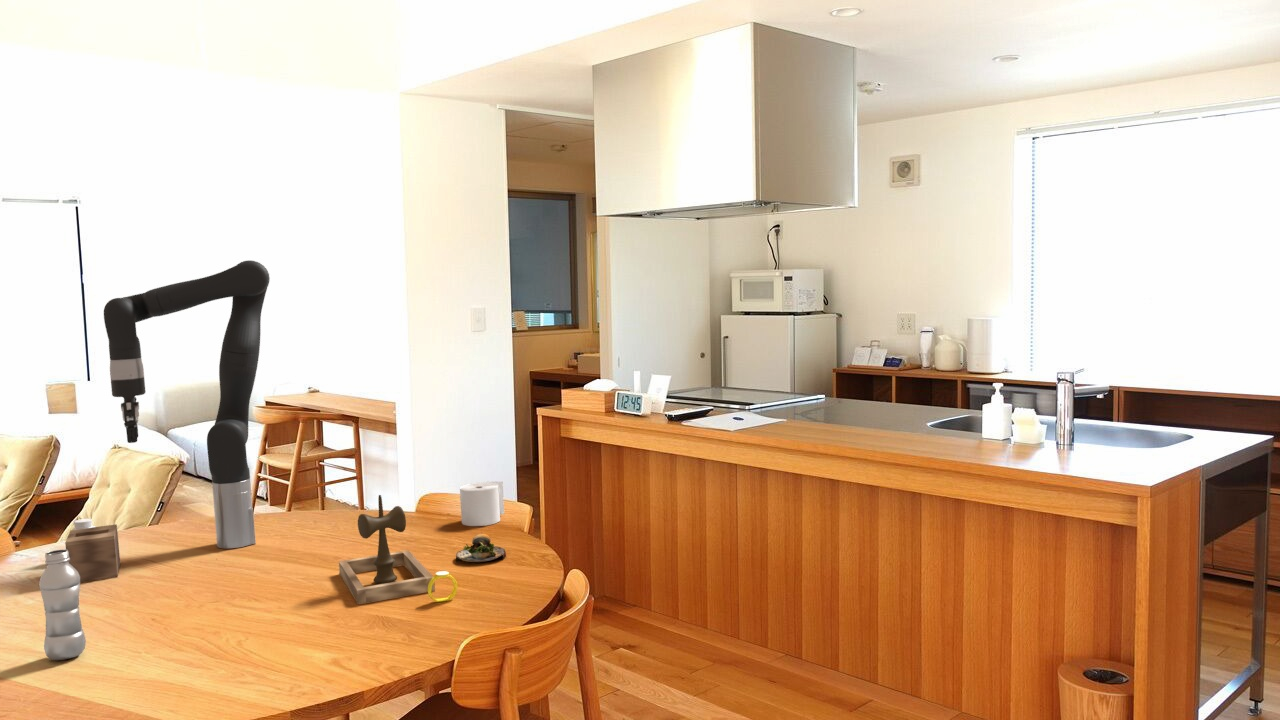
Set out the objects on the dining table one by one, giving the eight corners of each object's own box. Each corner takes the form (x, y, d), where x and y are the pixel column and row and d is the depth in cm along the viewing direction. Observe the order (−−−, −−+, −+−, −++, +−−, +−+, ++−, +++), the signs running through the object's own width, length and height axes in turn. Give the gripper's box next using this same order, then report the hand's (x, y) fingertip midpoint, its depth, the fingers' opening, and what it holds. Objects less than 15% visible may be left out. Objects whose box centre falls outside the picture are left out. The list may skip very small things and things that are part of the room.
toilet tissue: (456, 526, 264) (453, 490, 263) (470, 515, 276) (468, 481, 275) (493, 526, 262) (491, 490, 262) (506, 515, 274) (504, 481, 273)
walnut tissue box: (120, 563, 241) (116, 524, 240) (117, 577, 229) (114, 535, 228) (74, 570, 237) (70, 530, 236) (69, 584, 225) (65, 542, 224)
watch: (431, 605, 200) (429, 577, 199) (427, 602, 202) (425, 574, 201) (459, 599, 203) (457, 571, 202) (454, 596, 205) (452, 568, 204)
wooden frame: (409, 562, 231) (408, 550, 231) (434, 590, 209) (434, 577, 209) (339, 573, 224) (338, 561, 224) (358, 604, 202) (357, 590, 202)
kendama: (411, 580, 217) (405, 492, 216) (370, 590, 211) (364, 500, 210) (399, 574, 222) (394, 489, 220) (359, 584, 216) (353, 496, 214)
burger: (446, 564, 229) (444, 533, 229) (473, 550, 240) (471, 521, 240) (490, 568, 225) (488, 537, 224) (515, 554, 236) (513, 524, 235)
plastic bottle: (56, 652, 182) (46, 548, 180) (93, 649, 182) (84, 546, 180) (38, 665, 175) (27, 558, 174) (76, 663, 176) (66, 555, 174)
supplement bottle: (101, 559, 246) (97, 520, 245) (76, 564, 242) (72, 524, 241) (96, 555, 250) (93, 516, 249) (72, 559, 246) (68, 520, 246)
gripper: (143, 377, 238) (149, 442, 240) (144, 373, 251) (150, 435, 253) (108, 380, 235) (114, 445, 237) (112, 376, 248) (117, 438, 249)
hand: (133, 440), depth 245 cm, fingers open, 8 cm apart
